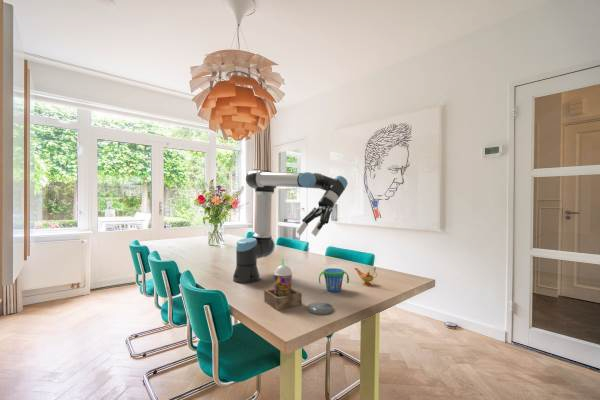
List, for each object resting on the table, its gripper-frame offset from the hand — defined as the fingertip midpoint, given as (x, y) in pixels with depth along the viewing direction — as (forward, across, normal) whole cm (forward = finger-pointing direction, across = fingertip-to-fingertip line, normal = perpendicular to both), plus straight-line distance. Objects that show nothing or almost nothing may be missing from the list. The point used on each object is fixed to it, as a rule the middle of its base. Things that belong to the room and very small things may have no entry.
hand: (305, 233), depth 135 cm
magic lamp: (-4, +3, -50) cm, 50 cm away
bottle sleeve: (+32, 0, -10) cm, 33 cm away
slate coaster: (+26, -14, -19) cm, 35 cm away
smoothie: (+32, 0, -10) cm, 33 cm away
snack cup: (+11, +3, -33) cm, 35 cm away
